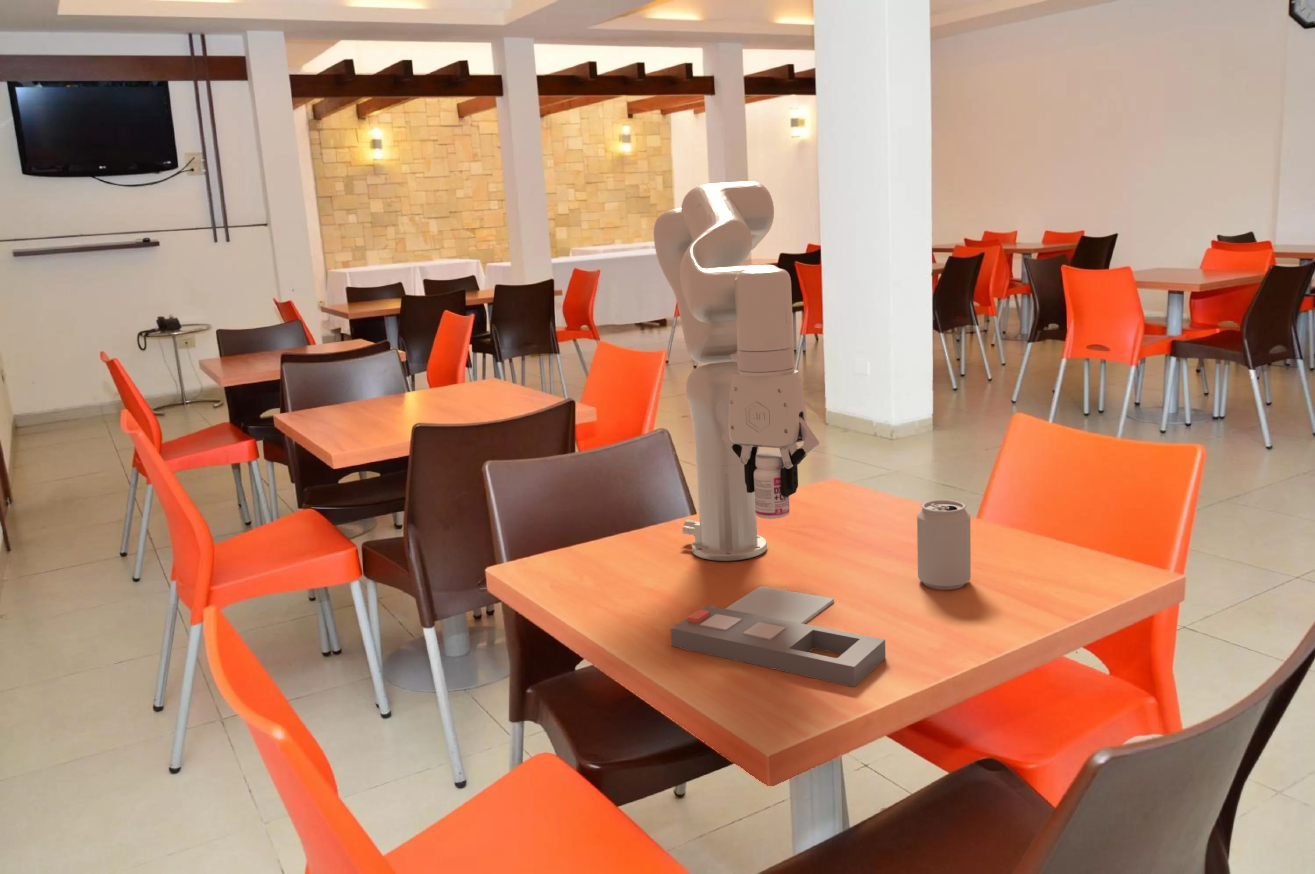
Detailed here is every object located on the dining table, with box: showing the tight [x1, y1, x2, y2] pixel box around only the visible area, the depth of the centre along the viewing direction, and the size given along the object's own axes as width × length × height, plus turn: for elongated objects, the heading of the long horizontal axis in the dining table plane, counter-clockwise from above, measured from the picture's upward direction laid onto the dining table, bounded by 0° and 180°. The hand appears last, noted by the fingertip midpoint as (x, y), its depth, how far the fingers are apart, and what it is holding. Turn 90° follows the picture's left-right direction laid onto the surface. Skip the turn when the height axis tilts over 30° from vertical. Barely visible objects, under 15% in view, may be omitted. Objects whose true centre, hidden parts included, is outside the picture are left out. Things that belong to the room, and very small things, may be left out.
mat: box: [724, 585, 835, 624], centre depth 147 cm, size 12×12×1 cm
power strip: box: [670, 605, 886, 688], centre depth 132 cm, size 26×9×3 cm, turn 55°
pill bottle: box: [754, 452, 790, 520], centre depth 143 cm, size 5×5×8 cm
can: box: [916, 499, 972, 591], centre depth 151 cm, size 8×8×12 cm
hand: (771, 491), depth 143 cm, fingers closed on pill bottle, 4 cm apart
